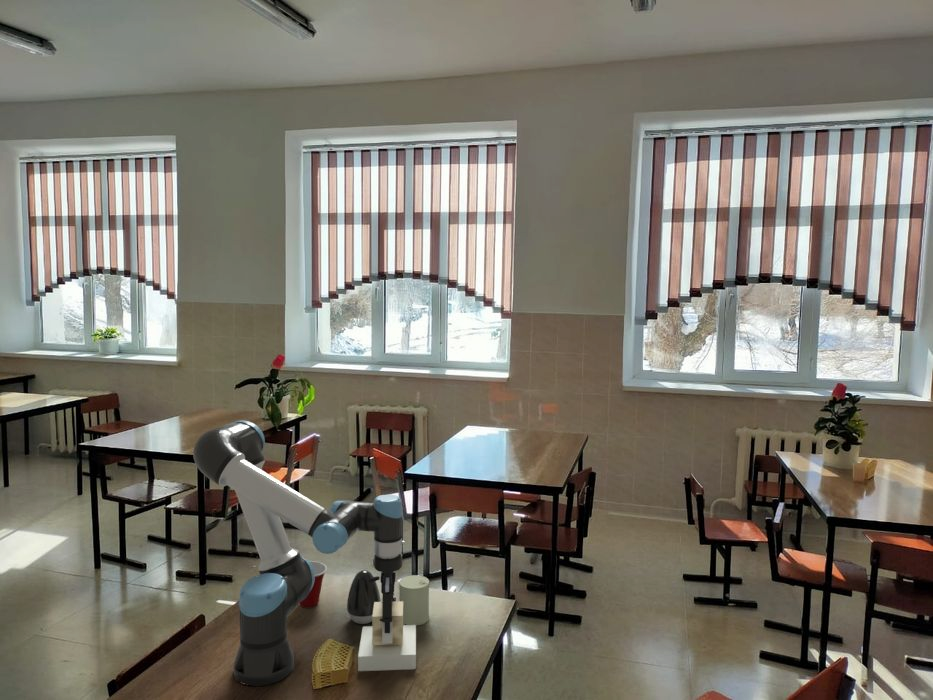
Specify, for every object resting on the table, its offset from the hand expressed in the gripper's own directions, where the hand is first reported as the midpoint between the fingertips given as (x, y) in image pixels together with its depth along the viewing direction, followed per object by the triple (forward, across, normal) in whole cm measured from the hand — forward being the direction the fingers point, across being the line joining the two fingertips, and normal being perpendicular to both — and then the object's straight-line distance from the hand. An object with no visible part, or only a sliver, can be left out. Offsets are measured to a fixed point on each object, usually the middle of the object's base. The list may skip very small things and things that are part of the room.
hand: (388, 634), depth 173 cm
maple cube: (+1, 0, 0) cm, 1 cm away
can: (+6, +19, -7) cm, 21 cm away
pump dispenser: (+6, +19, +8) cm, 21 cm away
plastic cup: (+6, +30, +26) cm, 40 cm away
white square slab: (+6, 0, 0) cm, 6 cm away
